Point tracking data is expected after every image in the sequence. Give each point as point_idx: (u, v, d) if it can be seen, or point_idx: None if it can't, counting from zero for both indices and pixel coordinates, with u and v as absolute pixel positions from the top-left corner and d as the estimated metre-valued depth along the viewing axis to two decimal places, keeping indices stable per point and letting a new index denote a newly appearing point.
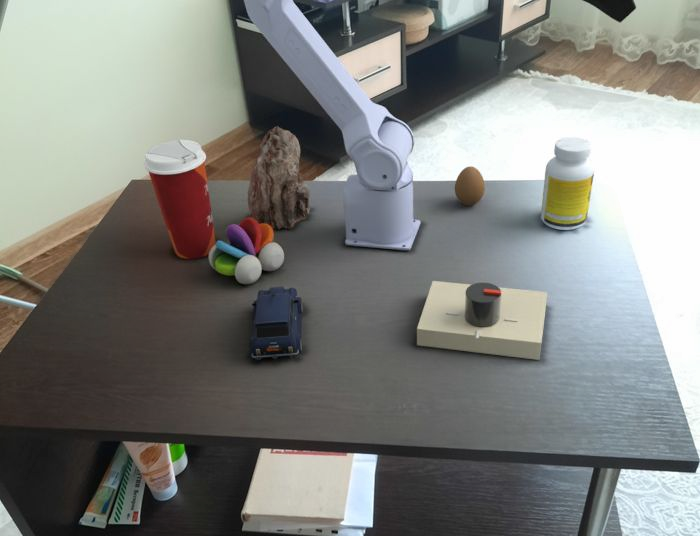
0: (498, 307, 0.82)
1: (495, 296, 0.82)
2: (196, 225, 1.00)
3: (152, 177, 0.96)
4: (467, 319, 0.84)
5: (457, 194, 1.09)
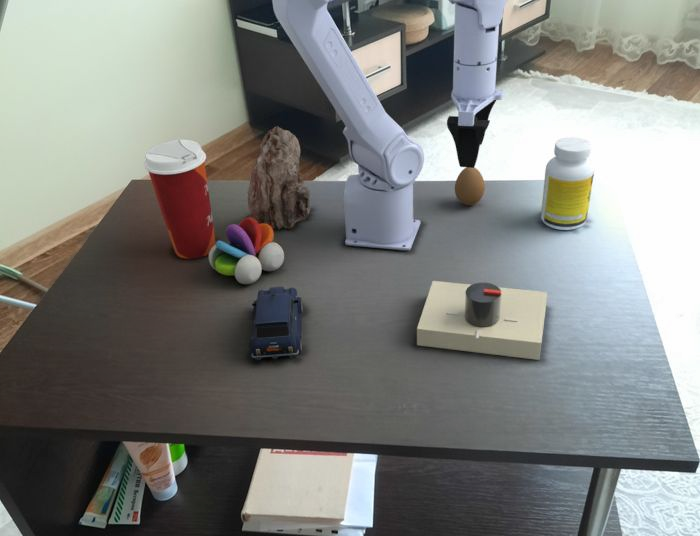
0: (498, 307, 0.82)
1: (495, 296, 0.82)
2: (196, 225, 1.00)
3: (152, 177, 0.96)
4: (467, 319, 0.84)
5: (457, 194, 1.09)
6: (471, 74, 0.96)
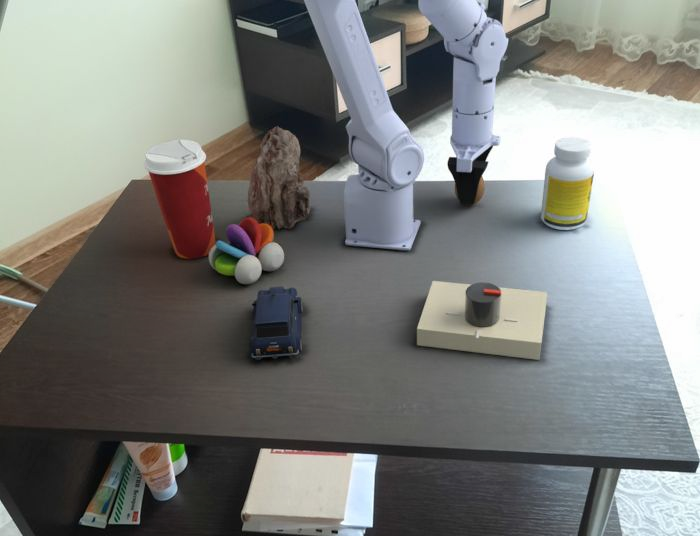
0: (498, 307, 0.82)
1: (495, 296, 0.82)
2: (196, 225, 1.00)
3: (152, 177, 0.96)
4: (467, 319, 0.84)
5: (457, 194, 1.09)
6: (469, 122, 1.00)
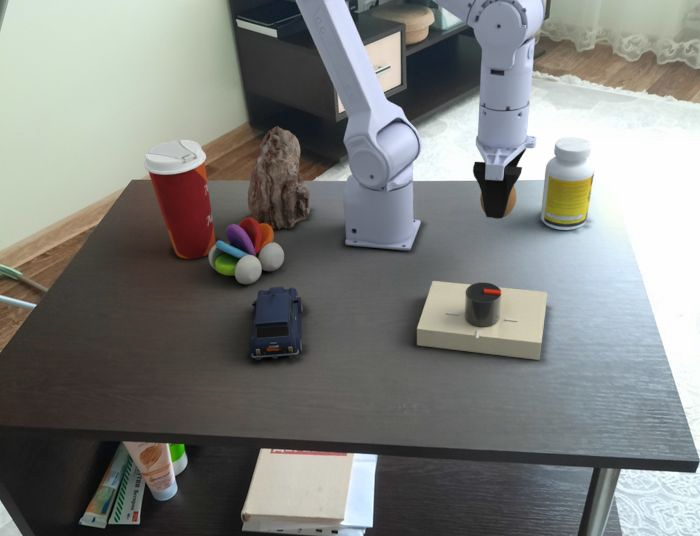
0: (498, 307, 0.82)
1: (495, 296, 0.82)
2: (196, 225, 1.00)
3: (152, 177, 0.96)
4: (467, 319, 0.84)
5: (483, 206, 0.92)
6: (500, 120, 0.83)
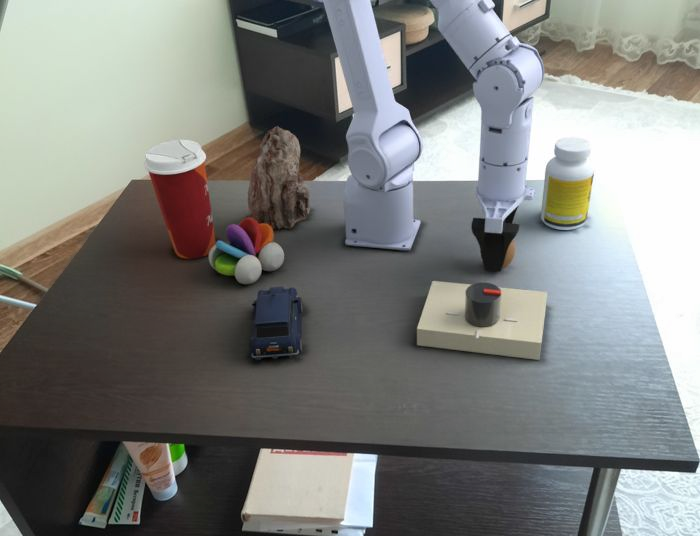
0: (498, 307, 0.82)
1: (495, 296, 0.82)
2: (196, 225, 1.00)
3: (152, 177, 0.96)
4: (467, 319, 0.84)
5: None
6: (499, 175, 0.86)
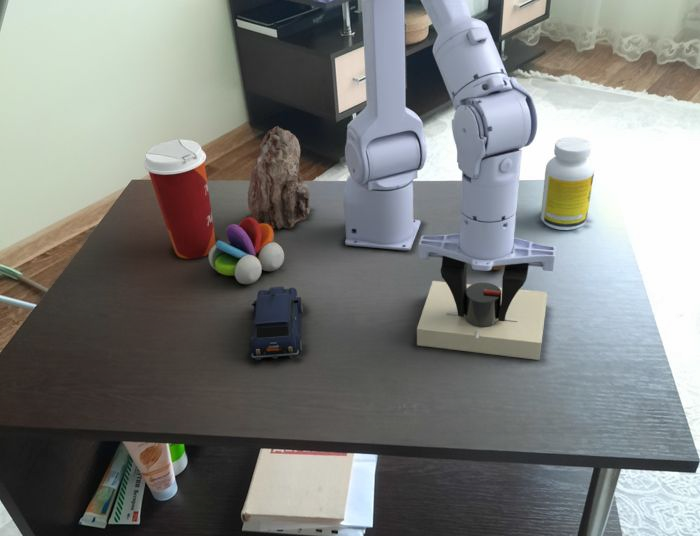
0: (498, 307, 0.82)
1: (495, 296, 0.82)
2: (196, 225, 1.00)
3: (152, 177, 0.96)
4: (467, 319, 0.84)
5: None
6: None
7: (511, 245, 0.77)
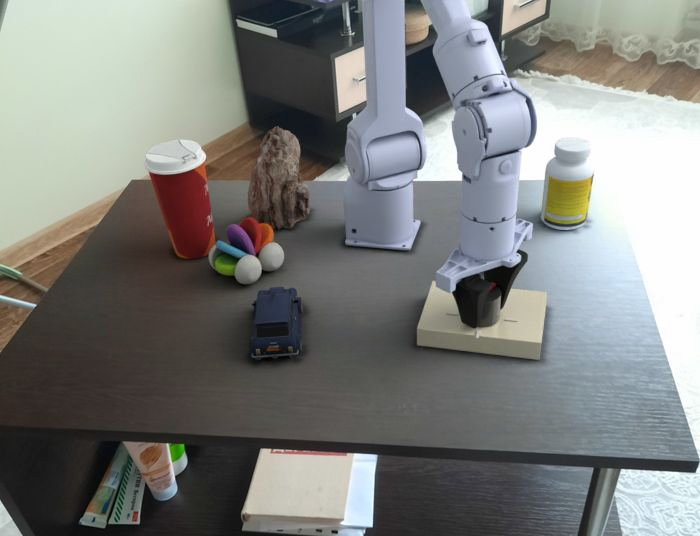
0: None
1: (495, 288, 0.83)
2: (196, 225, 1.00)
3: (152, 177, 0.96)
4: (483, 325, 0.83)
5: None
6: (470, 229, 0.75)
7: None
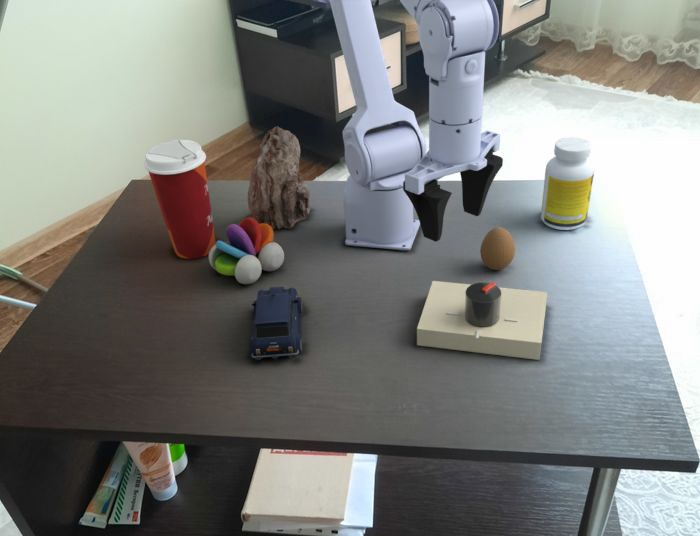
0: None
1: (495, 288, 0.83)
2: (196, 225, 1.00)
3: (152, 177, 0.96)
4: (483, 325, 0.83)
5: (483, 258, 0.95)
6: (438, 133, 0.79)
7: None
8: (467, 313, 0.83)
